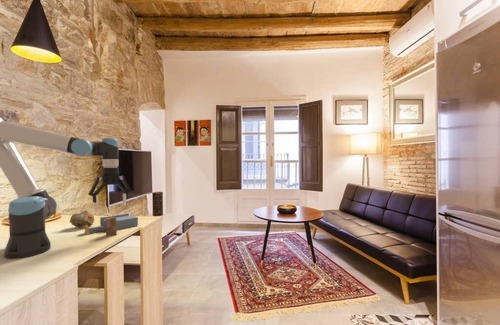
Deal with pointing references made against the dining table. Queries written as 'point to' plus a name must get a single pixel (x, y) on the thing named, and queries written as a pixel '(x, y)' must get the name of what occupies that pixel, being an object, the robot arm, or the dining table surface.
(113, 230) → the peg
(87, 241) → the dining table surface
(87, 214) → the rock
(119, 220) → the dock block
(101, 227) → the lock pin
